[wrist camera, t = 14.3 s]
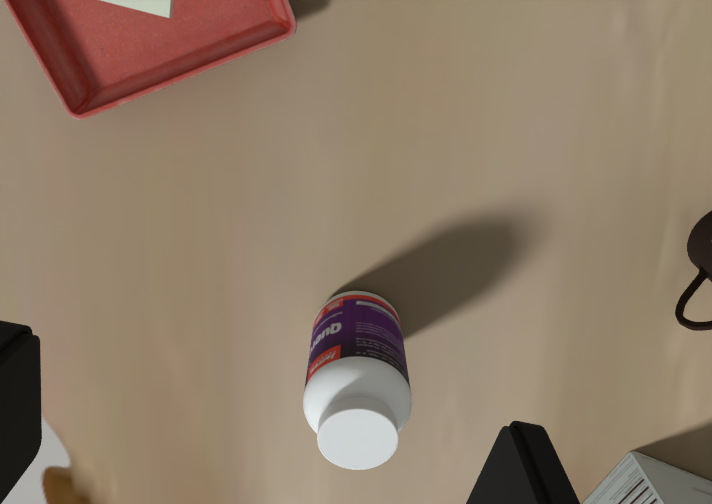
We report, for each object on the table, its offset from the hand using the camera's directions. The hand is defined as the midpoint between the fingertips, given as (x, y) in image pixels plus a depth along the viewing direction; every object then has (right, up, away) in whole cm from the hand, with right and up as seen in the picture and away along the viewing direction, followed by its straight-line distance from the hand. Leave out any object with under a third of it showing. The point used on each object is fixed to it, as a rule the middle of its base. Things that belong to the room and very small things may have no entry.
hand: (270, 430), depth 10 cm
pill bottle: (+2, -3, +37) cm, 37 cm away
